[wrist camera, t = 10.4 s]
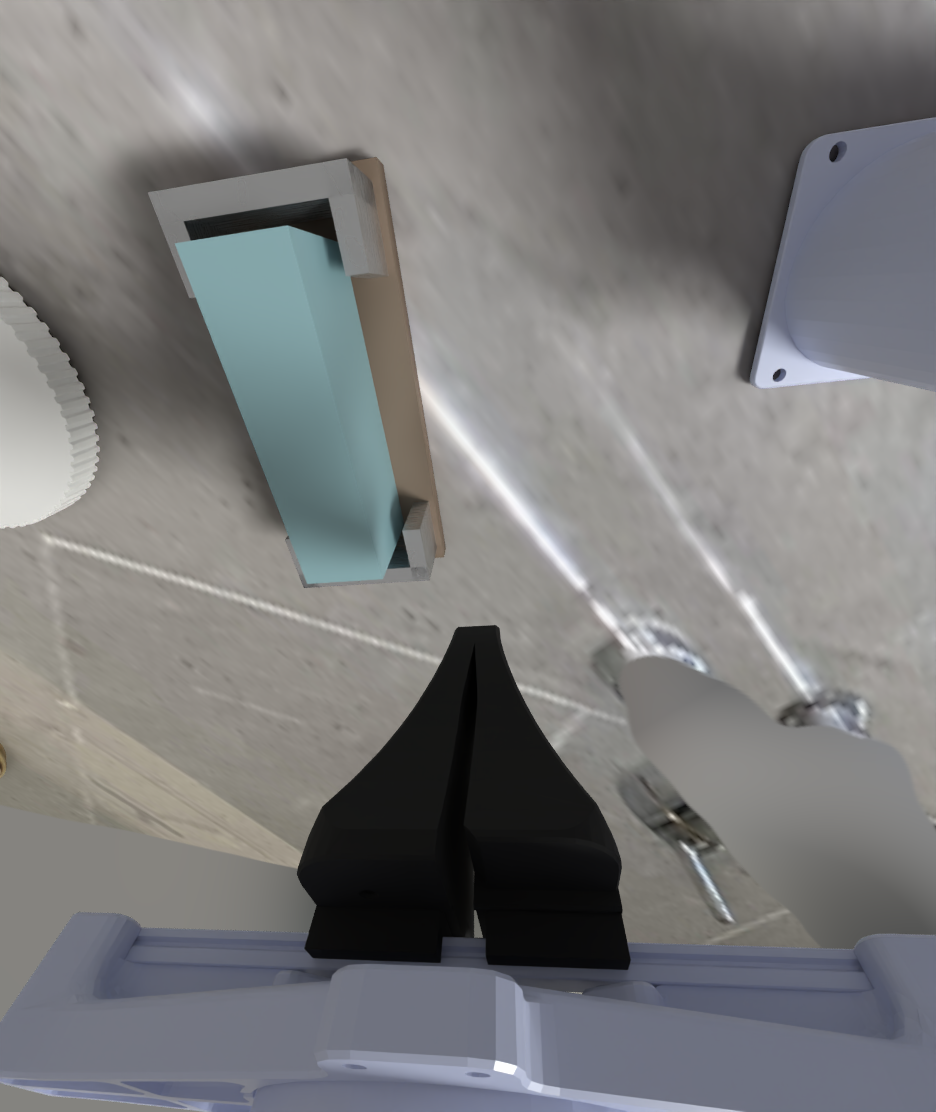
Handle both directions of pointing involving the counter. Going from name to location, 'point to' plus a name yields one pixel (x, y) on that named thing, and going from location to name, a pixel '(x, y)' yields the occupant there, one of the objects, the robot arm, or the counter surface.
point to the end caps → (363, 256)
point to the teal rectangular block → (303, 392)
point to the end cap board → (392, 360)
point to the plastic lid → (39, 420)
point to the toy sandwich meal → (2, 761)
